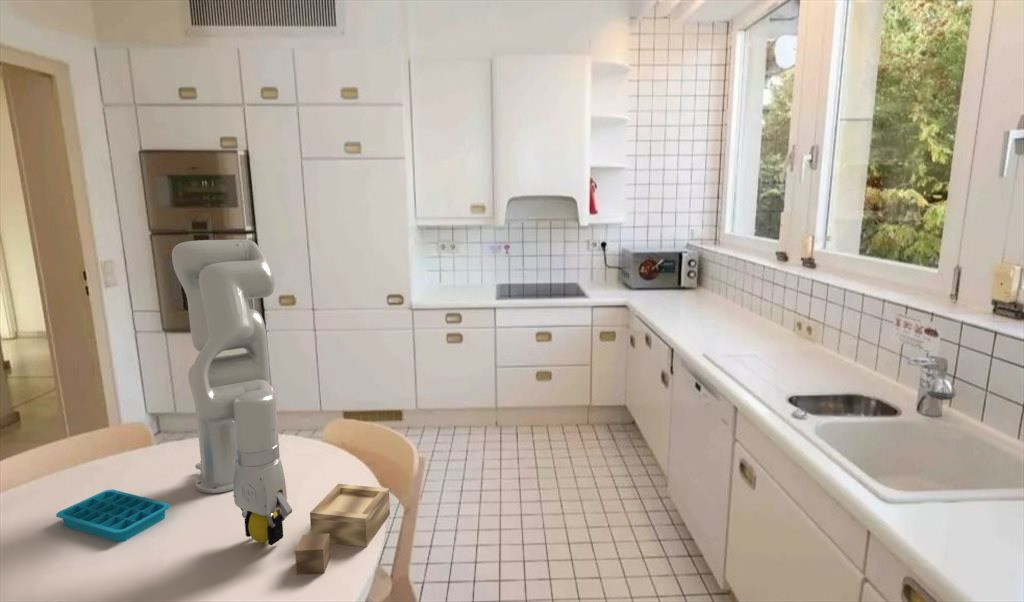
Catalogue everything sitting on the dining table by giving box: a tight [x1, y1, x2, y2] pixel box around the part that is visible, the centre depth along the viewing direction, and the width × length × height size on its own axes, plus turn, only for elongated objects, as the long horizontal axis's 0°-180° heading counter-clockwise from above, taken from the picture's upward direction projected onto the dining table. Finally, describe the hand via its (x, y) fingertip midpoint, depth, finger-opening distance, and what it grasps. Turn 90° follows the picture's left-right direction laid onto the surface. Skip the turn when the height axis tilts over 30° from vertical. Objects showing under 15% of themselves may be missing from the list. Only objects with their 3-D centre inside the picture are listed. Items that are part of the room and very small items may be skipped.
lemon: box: [248, 512, 277, 544], centre depth 109 cm, size 6×6×8 cm
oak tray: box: [309, 483, 391, 548], centre depth 115 cm, size 12×12×6 cm
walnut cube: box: [294, 533, 332, 576], centre depth 102 cm, size 5×5×5 cm
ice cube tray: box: [55, 488, 171, 543], centre depth 117 cm, size 12×20×3 cm, turn 70°
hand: (264, 536), depth 109 cm, fingers closed on lemon, 5 cm apart
